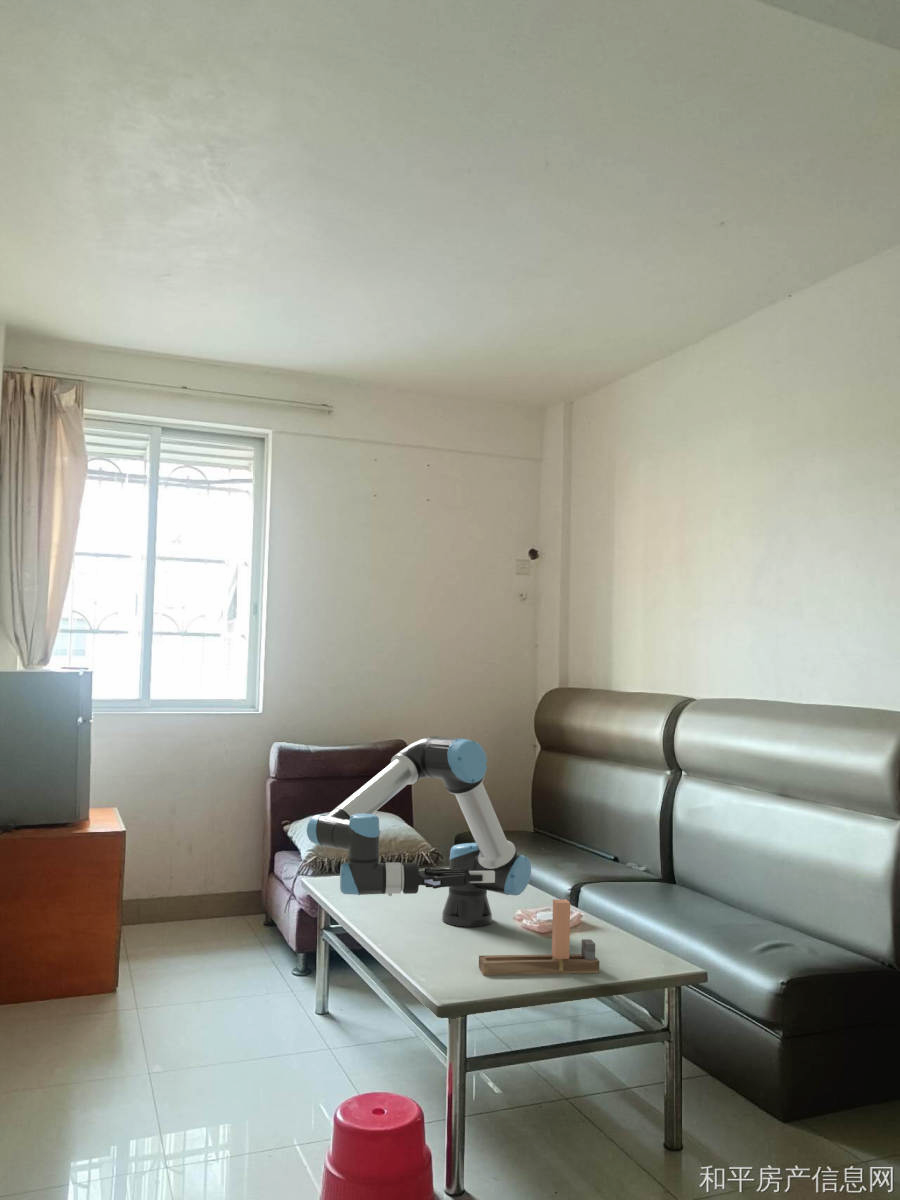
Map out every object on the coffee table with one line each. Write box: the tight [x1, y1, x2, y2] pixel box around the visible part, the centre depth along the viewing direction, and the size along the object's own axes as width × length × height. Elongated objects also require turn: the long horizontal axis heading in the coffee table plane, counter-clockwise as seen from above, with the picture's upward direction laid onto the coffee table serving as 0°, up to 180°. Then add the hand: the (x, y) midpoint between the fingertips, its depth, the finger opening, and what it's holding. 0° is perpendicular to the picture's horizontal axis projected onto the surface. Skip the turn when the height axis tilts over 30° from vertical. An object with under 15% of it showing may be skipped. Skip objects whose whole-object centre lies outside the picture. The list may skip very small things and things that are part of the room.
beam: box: [478, 938, 600, 976], centre depth 236 cm, size 6×30×7 cm, turn 99°
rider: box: [551, 898, 571, 960], centre depth 237 cm, size 4×4×16 cm
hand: (494, 876), depth 235 cm, fingers closed
